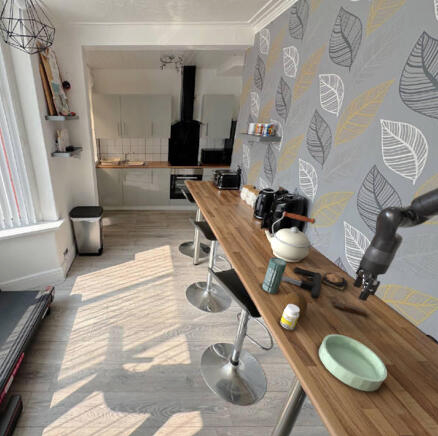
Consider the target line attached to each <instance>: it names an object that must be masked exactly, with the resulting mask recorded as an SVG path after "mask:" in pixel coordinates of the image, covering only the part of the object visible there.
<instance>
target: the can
mask: <svg viewBox="0 0 438 436" xmlns="http://www.w3.org/2000/svg"><path fill="white" fill-rule="evenodd" d="M287 265H288V262H287V261H285V260H283V259H281V258H278V257H276V256H273V257H270V259H269V262H268V265H267V268H266V272H265V276H264V279H263V282H262V285H261V286H262V289H263V290H264V292H267V293H269V294H272V295H273V294H274V295H275V294H277V293H278V291H279V289H280V285H281V282H282V281H283V280H282V277H283V276H284V273H285V271H286V267H287Z"/></svg>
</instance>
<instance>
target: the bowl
mask: <svg viewBox="0 0 438 436" xmlns="http://www.w3.org/2000/svg"><path fill="white" fill-rule="evenodd" d="M318 356H319V359H320V361H321V362H322V364H323V365H324V367H325V368H326V369H327V370H328V371H329V372H330V374H331V375H333V376H334V377H335V378H336V379H338V380H339V381H341V382H342V383H344V384H346V385H348V386H349V387H351V388H353V389H355V390H359V391H363V392H374V391H377V390H378V389H379V388H380V387H381V386H382V384H383V383H384V381H385V380H386V378H387V377H388V370H387V367H386V365H385V363H384V362H383V360H382V359H381V358H380V357H379V355H378V354H376V353H375V352H374V351H373V350H372V349H370V348H369V347H368V346H366V345H365V344H363V343H362V342H360V341H359V340H356V339H354V338H352V337H350V336H346V335H344V334H343V335H342V334H335V333H332V334H327V335H326V336H325V337H324V338H323V339H322V341H321V344H320V346H319V348H318Z"/></svg>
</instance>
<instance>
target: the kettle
mask: <svg viewBox="0 0 438 436" xmlns="http://www.w3.org/2000/svg"><path fill="white" fill-rule="evenodd" d="M284 217H288V218H290V219H292V220H293V219H294V220H297V221H301V222H304V223H305V222H306V223H311V224H312V229H313V230H314V233H315V235H316V240H315V241H313V243H311V241H310V239H309V237H308V235H306V234H305V233H304V232H302V231H300V229H299V228H298V227H297V226H292V227H290V228H282V229H279V230H278V231H276V232H275V231H274V226H275V224H276V223H277V222H279V221H281V220H282V219H284ZM316 220H317V219H316V218H311V217H307V216H305V215H300V214H297V213H292V212H287V211H283V212H282V216H281V218H279V219H277V220H276V221H275V222H274V223H273V224H272V226H271V231H272V233H270V231H269V230H268V229H265V230H264V232H265V235H266V238H267V241H268V242H269V243H270V247H271V249H272V254H273V255H274V257H278V258H281V259H283V260H285V261H286V262H287V263H298V262H300V261H301V260H302V259H303V260H304V258H306V257H307V256H309V255H308V254H309V252H310V250H311V249H314V244H316V243H317V241H318V240H319V233H318V231H317V229H316V228H315V223H316V222H317V221H316Z"/></svg>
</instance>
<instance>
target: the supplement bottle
mask: <svg viewBox="0 0 438 436" xmlns="http://www.w3.org/2000/svg"><path fill="white" fill-rule="evenodd" d="M299 311H300V309H299V308H298V307H297V306H296V305H294V304H288V305H287V307H286V308H285V307H284V310H283V313H282V316H281V318H280V321H279V322H280V325H281V326H282V327H283V328H284V329H286V330H294V329H295V328H296V325H297V323H298V320H299V318H298V317H299Z"/></svg>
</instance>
